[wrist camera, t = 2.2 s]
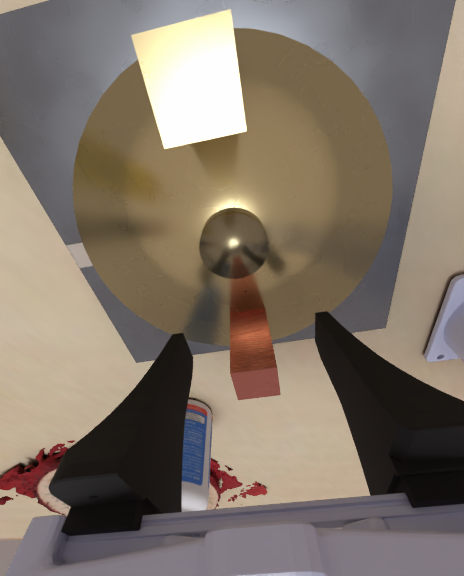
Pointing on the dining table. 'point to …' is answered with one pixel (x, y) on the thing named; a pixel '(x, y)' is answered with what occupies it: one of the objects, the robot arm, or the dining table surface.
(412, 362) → the dining table surface
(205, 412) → the pill bottle
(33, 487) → the plate with food
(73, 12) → the cap plate
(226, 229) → the brass cymbal
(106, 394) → the dining table surface
